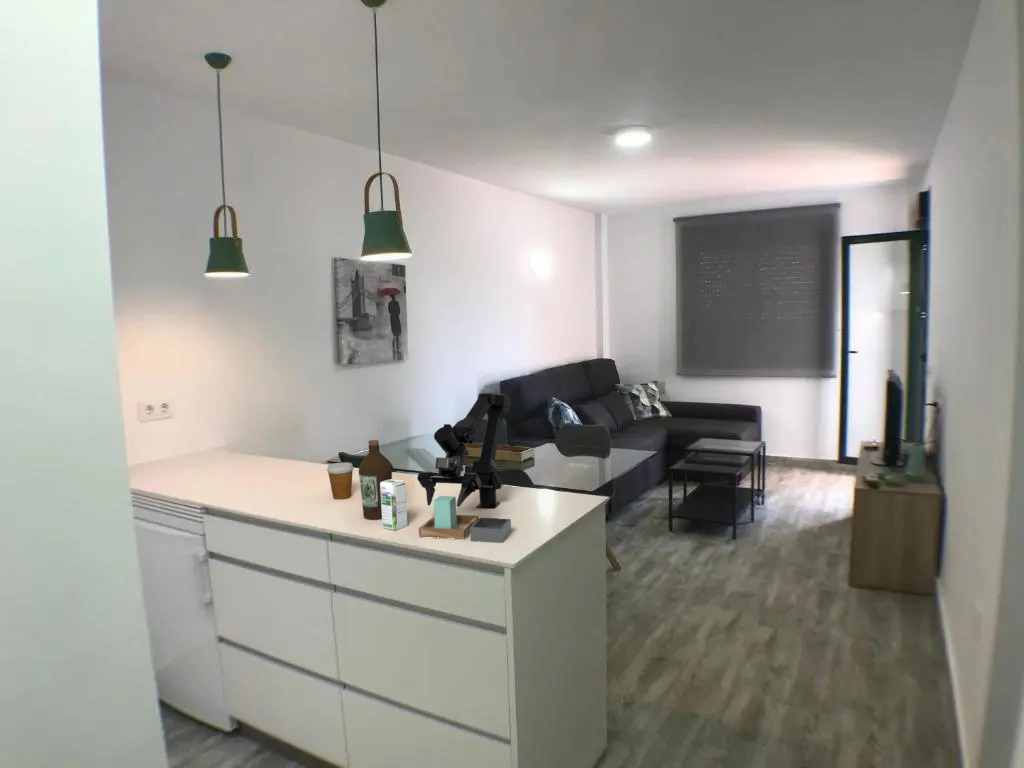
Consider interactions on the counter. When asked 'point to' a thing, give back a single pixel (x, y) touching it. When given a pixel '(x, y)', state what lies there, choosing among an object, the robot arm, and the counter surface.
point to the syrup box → (393, 504)
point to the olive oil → (373, 480)
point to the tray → (460, 533)
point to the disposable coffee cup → (340, 479)
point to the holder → (490, 530)
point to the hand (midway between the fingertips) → (443, 505)
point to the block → (445, 512)
